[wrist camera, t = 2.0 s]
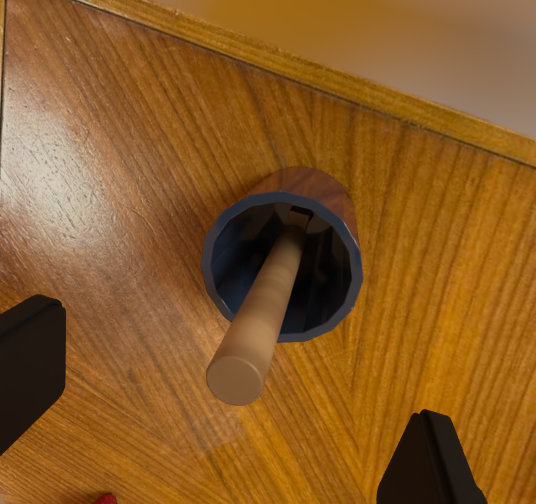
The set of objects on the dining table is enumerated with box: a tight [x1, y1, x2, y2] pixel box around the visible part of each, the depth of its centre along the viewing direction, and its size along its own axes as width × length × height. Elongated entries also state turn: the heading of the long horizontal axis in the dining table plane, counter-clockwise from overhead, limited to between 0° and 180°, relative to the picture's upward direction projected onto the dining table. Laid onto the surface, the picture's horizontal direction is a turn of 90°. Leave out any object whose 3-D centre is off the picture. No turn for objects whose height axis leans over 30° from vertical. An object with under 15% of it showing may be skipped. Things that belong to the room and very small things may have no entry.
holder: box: [201, 167, 363, 343], centre depth 21 cm, size 7×7×9 cm
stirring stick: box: [206, 205, 311, 406], centre depth 17 cm, size 3×2×16 cm, turn 168°
